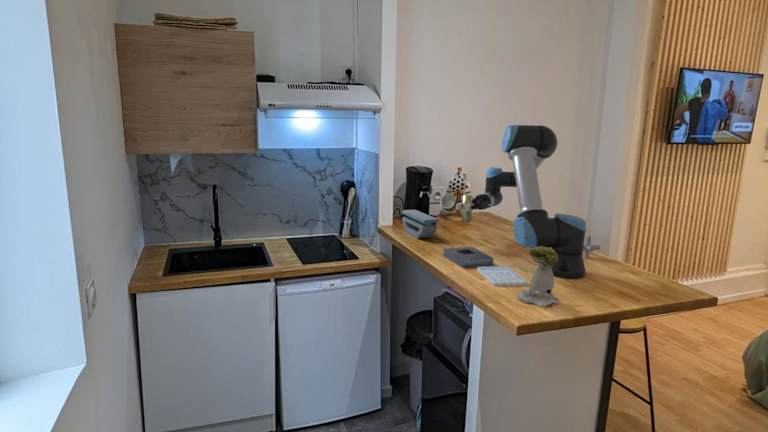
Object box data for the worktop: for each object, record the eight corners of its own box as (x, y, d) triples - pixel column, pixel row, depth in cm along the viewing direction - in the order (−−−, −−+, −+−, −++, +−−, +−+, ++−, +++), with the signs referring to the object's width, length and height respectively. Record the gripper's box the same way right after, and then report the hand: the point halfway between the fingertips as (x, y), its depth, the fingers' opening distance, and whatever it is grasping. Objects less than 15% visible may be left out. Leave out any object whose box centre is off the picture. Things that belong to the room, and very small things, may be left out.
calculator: (493, 287, 175) (494, 282, 175) (475, 270, 195) (476, 265, 194) (528, 287, 177) (529, 282, 177) (507, 269, 196) (507, 265, 196)
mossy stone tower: (522, 290, 172) (527, 240, 168) (560, 298, 166) (566, 246, 162) (514, 301, 162) (519, 248, 158) (554, 309, 155) (560, 254, 152)
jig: (493, 265, 200) (493, 258, 200) (462, 267, 196) (463, 260, 195) (471, 253, 217) (472, 246, 216) (443, 255, 212) (443, 248, 212)
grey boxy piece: (401, 230, 256) (401, 210, 254) (414, 229, 259) (415, 209, 257) (423, 242, 233) (424, 220, 231) (437, 240, 236) (438, 219, 234)
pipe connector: (594, 255, 219) (597, 234, 217) (601, 261, 209) (604, 239, 207) (571, 254, 220) (574, 232, 218) (578, 260, 210) (580, 238, 208)
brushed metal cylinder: (472, 221, 221) (474, 196, 219) (464, 222, 220) (465, 196, 217) (468, 219, 225) (469, 194, 223) (459, 220, 224) (461, 194, 222)
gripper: (500, 211, 231) (478, 218, 213) (467, 206, 241) (444, 213, 223) (501, 195, 230) (480, 201, 211) (468, 191, 240) (445, 197, 221)
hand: (461, 207), depth 217 cm, fingers closed on brushed metal cylinder, 4 cm apart
